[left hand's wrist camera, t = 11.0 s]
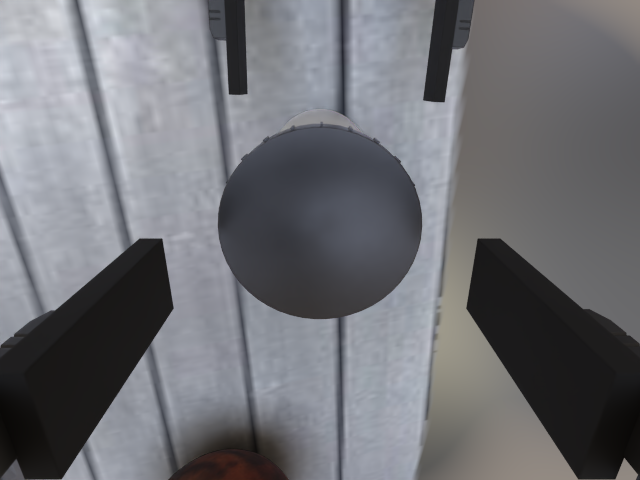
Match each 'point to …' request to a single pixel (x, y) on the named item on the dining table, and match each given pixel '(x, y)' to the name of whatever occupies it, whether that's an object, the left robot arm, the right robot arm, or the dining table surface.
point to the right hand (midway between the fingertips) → (336, 98)
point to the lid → (320, 221)
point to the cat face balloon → (230, 467)
